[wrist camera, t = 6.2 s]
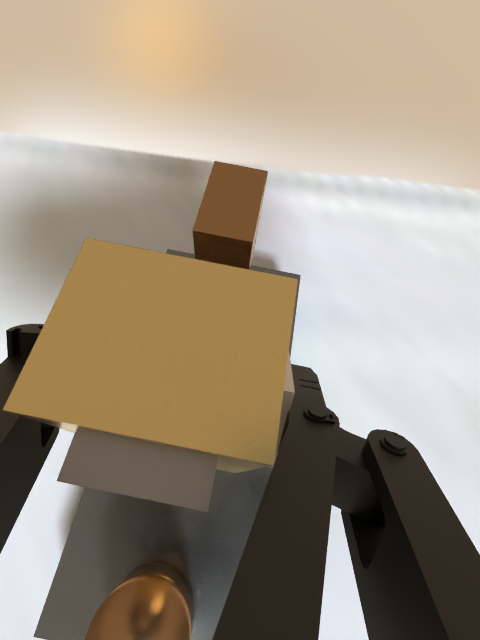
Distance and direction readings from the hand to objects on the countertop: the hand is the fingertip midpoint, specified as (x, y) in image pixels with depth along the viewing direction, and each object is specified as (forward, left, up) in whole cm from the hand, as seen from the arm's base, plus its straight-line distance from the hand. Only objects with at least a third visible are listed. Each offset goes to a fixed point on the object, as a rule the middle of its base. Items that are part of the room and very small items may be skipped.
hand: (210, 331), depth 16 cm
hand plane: (0, +3, -7) cm, 8 cm away
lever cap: (0, +4, -4) cm, 5 cm away
